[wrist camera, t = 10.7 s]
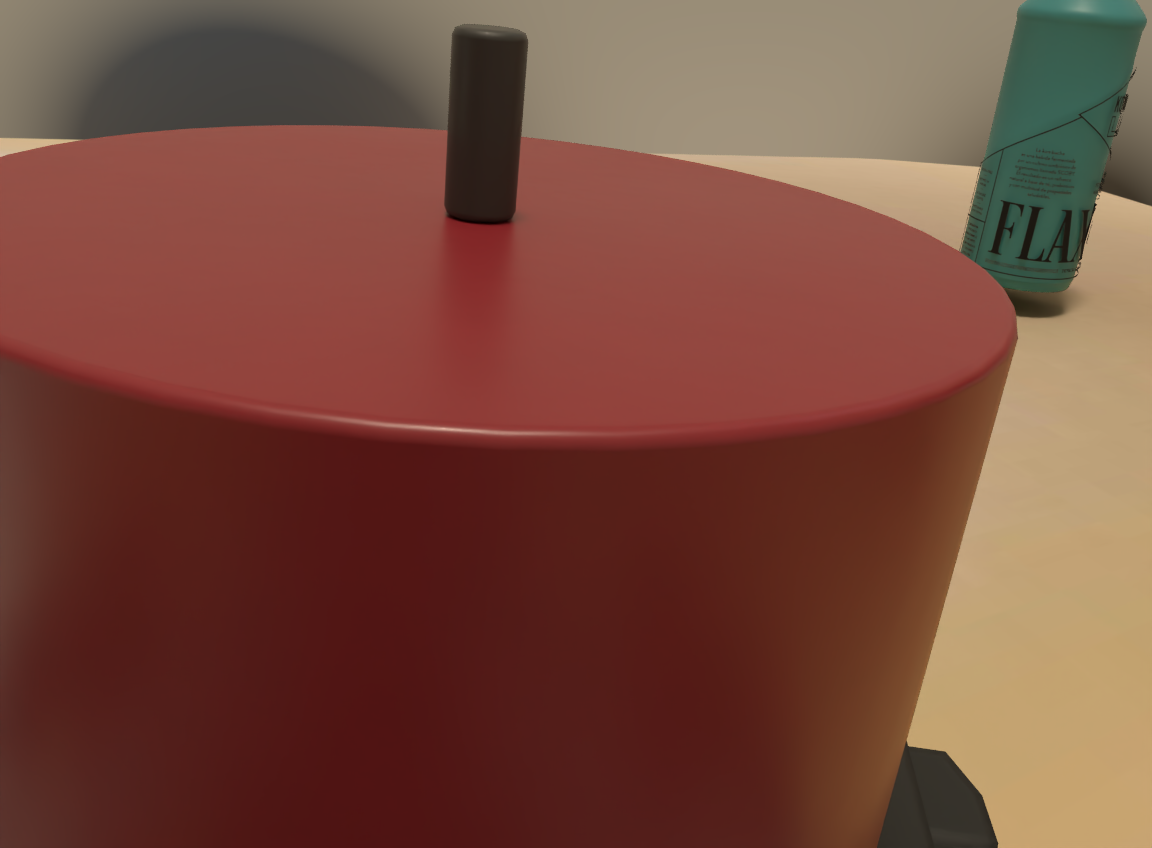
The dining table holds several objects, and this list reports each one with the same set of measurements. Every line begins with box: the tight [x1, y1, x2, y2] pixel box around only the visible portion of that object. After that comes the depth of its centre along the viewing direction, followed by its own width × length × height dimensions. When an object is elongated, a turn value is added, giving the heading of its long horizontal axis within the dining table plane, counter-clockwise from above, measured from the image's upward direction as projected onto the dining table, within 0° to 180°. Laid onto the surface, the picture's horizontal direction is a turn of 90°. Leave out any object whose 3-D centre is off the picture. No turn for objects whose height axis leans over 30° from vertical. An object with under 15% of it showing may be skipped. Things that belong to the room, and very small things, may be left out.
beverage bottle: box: [959, 0, 1147, 292], centre depth 57 cm, size 6×7×20 cm
